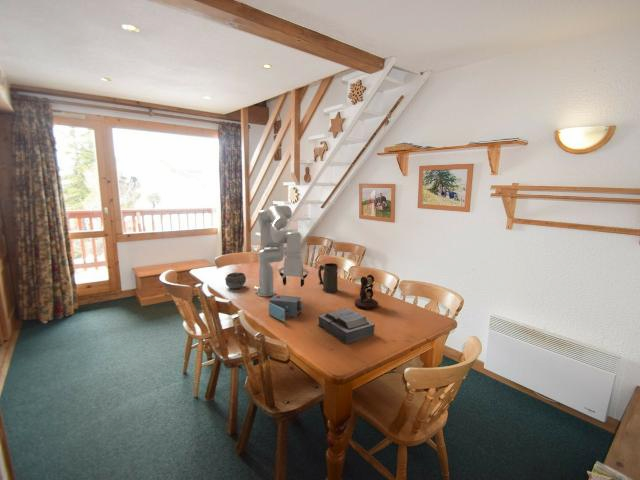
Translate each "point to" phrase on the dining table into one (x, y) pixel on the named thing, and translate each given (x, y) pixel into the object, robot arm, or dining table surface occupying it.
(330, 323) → the grey stacked slabs
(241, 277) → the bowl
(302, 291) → the dining table surface
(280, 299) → the camera body
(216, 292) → the dining table surface
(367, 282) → the brown figurine
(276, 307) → the side door
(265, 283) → the robot arm
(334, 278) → the beer stein
